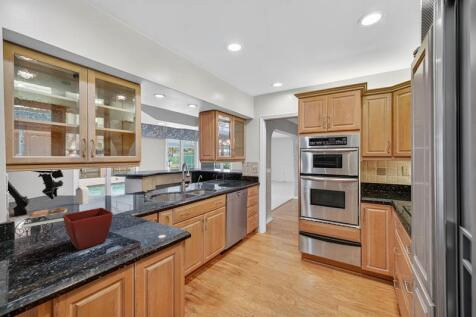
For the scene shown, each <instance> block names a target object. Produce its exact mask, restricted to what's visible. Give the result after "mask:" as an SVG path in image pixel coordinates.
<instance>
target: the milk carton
mask: <svg viewBox="0 0 476 317" xmlns="http://www.w3.org/2000/svg"><path fill="white" fill-rule="evenodd" d="M89 190H90V189H89V188H88V187H87V185H86V184H81V185H78V187H77V188H76V189H75V205H89V204H90V193H89V192H90V191H89Z"/></svg>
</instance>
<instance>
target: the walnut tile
mask: <svg viewBox="0 0 476 317" xmlns="http://www.w3.org/2000/svg"><path fill="white" fill-rule="evenodd" d="M64 209H65V207H63V206H62V207H56V208H51V209H50V211H51V214H53V215H56V214H55V213H59V214H62V213H61V212H64Z"/></svg>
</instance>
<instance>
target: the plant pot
mask: <svg viewBox="0 0 476 317" xmlns="http://www.w3.org/2000/svg"><path fill="white" fill-rule="evenodd" d="M113 215H114V212H112V211H110V210H108V209H106V208H104V207H98V208H97V207H96V208H92V209H87V210H82V211H81V210H80V211H76V212H71V213H65V214H63V215H62V217H63V218H64V221H63V223H64V227H65V230H66V232H67V235H68V238H69V240H70V241H71V243H72V245H73V246H74V248H75V249H76V250H77V251H81V250H84V249H87V248H90V247H94V246H98V245H101V244H103V243H105V242H106V241H107V238H108V235H109V232H110V229H111V226H112V223H113ZM100 243H101V244H100Z"/></svg>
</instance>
